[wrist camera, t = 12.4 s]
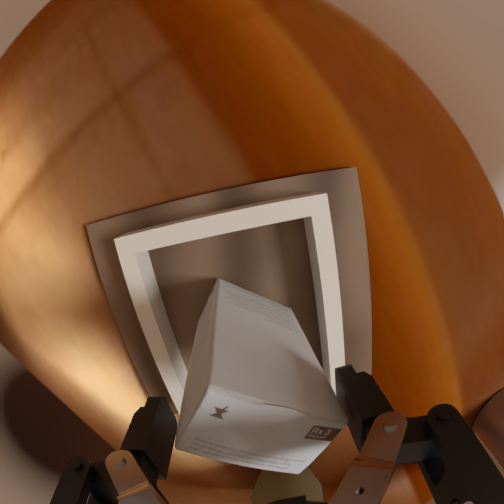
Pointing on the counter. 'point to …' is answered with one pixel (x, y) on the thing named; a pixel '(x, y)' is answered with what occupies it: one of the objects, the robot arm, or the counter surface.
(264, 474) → the squeeze bottle
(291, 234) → the board
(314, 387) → the skincare box
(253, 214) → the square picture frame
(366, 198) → the counter surface
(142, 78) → the counter surface
